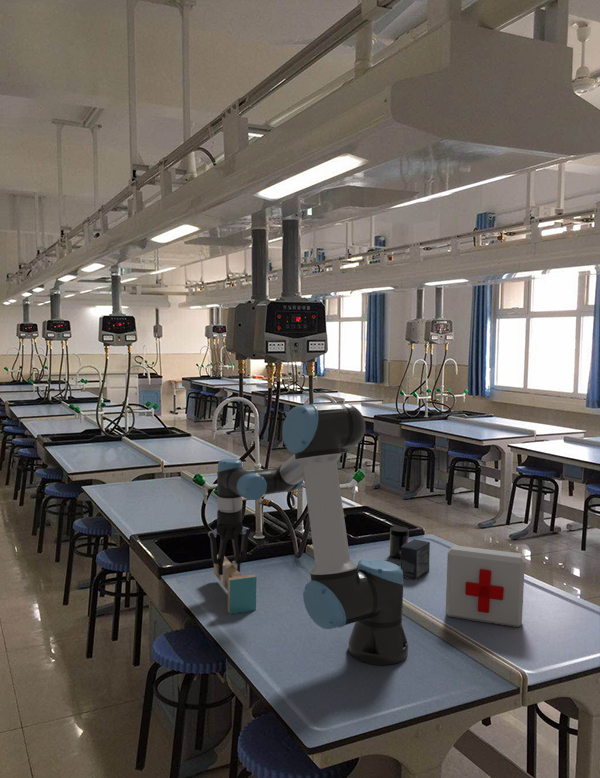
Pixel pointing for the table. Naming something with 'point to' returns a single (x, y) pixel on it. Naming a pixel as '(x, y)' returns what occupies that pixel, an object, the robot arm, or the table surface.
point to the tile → (242, 594)
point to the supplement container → (397, 540)
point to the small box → (415, 558)
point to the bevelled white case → (485, 585)
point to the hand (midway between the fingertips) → (228, 583)
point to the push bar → (227, 571)
